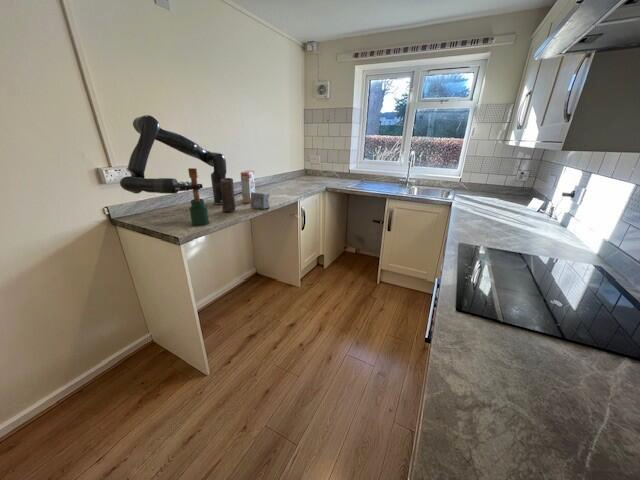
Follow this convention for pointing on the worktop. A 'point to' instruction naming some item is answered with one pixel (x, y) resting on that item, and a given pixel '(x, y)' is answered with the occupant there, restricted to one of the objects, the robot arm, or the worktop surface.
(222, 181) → the candle
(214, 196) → the robot arm
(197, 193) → the wooden spoon
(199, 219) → the bottle
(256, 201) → the incense holder
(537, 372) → the worktop surface
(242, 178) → the cracker box
